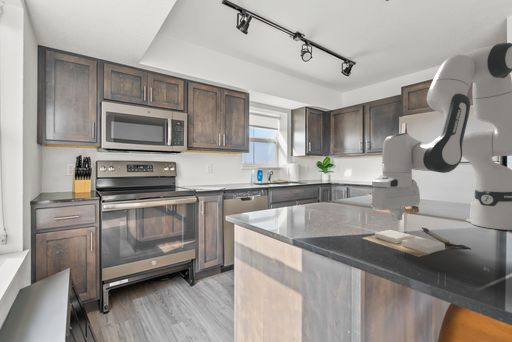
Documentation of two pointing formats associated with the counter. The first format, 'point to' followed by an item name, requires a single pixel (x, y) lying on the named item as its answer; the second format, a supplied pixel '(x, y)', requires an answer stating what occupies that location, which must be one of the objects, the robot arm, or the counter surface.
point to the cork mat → (400, 246)
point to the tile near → (423, 245)
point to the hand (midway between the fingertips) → (397, 220)
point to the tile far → (392, 236)
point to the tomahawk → (444, 239)
